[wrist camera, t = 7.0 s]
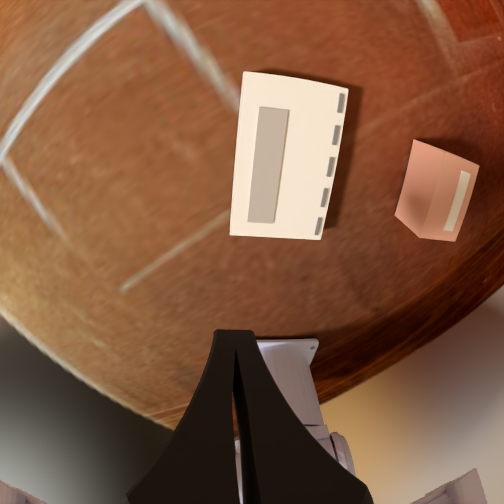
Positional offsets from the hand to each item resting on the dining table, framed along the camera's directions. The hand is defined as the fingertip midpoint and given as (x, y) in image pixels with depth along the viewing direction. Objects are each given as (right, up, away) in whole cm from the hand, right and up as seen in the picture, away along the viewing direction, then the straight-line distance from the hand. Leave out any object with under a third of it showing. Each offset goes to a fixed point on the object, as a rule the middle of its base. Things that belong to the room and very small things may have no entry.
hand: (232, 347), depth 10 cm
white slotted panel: (+3, +9, +6) cm, 11 cm away
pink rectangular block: (+14, +9, +7) cm, 18 cm away
